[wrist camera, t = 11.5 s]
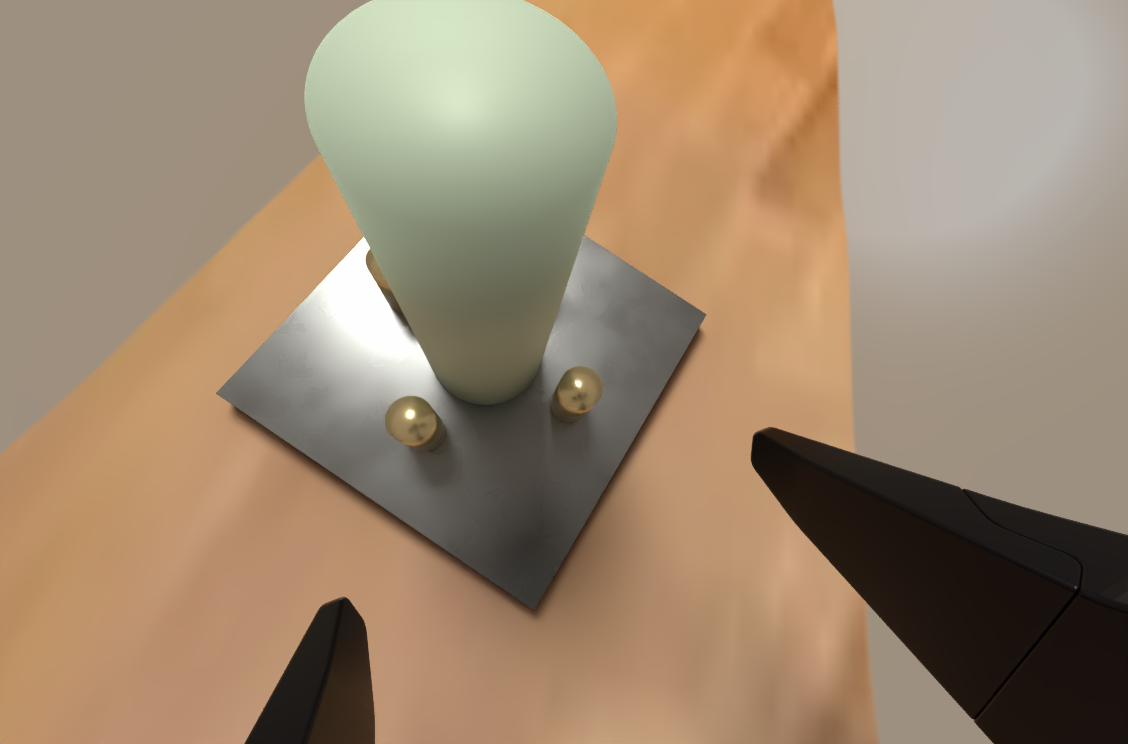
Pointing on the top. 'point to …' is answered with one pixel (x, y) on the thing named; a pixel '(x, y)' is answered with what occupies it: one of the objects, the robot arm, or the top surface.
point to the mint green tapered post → (466, 170)
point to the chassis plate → (471, 411)
